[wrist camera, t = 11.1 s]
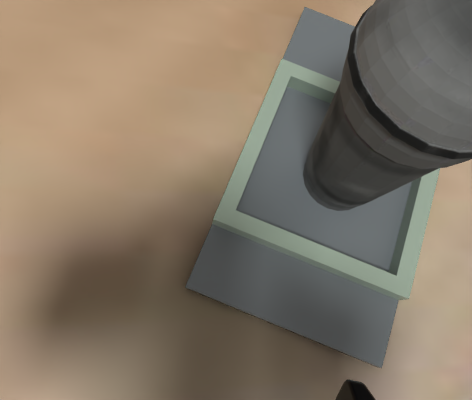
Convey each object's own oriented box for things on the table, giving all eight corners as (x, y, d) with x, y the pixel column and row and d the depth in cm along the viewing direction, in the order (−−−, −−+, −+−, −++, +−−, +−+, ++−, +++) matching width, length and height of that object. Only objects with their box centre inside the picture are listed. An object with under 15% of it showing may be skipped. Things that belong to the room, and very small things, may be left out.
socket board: (377, 366, 23) (391, 370, 21) (185, 287, 23) (184, 284, 22) (451, 71, 30) (466, 56, 28) (302, 12, 30) (309, -6, 28)
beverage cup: (326, 255, 24) (816, -5, 5) (259, 159, 26) (449, -321, 7) (413, 195, 26) (1017, -161, 7) (346, 109, 27) (693, -382, 8)
